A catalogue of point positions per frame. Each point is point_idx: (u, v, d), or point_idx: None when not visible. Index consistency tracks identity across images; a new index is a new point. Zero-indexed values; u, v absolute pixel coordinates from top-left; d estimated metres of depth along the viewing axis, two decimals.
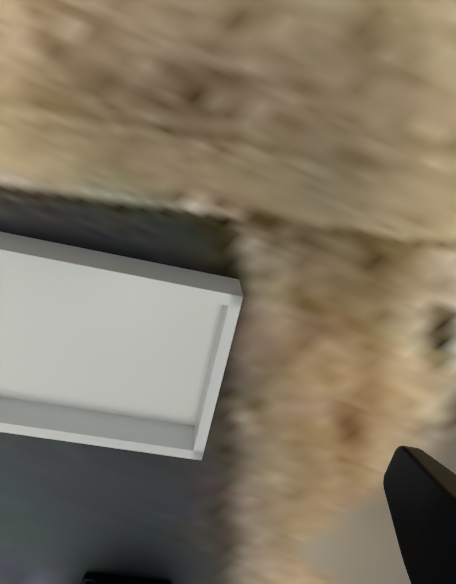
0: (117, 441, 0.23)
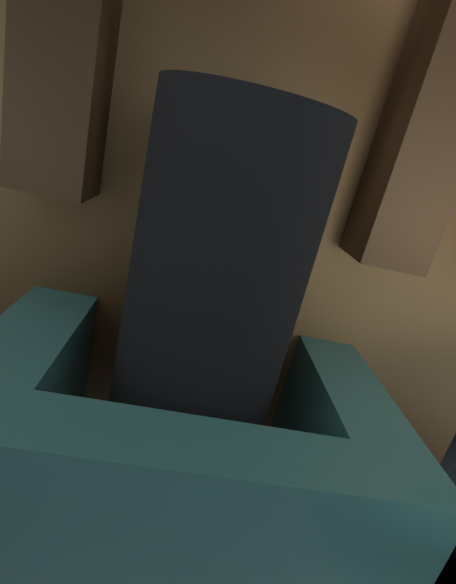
0: None
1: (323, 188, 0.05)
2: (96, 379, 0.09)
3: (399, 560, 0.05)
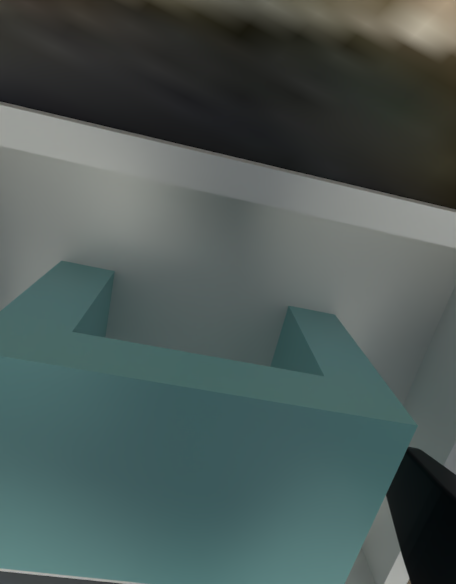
0: None
1: None
2: None
3: (360, 466, 0.06)
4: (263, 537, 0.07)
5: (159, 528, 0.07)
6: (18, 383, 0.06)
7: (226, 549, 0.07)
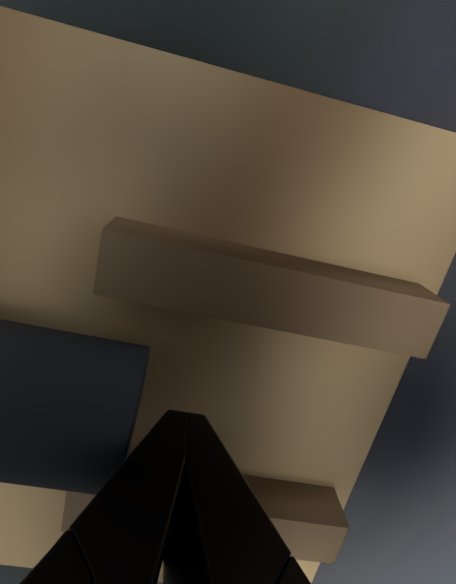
0: None
1: None
2: None
3: None
4: None
5: None
6: None
7: None
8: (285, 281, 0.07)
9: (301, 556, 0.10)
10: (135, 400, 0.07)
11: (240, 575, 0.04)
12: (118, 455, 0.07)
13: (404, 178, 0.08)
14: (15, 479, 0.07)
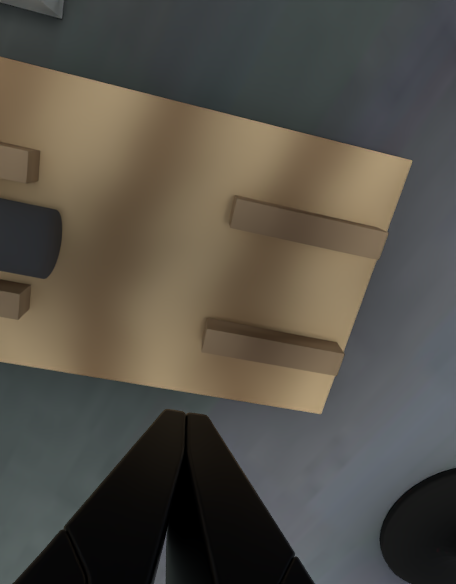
0: None
1: None
2: (119, 293, 0.19)
3: None
4: None
5: None
6: None
7: None
8: (314, 222, 0.17)
9: (320, 370, 0.19)
10: (43, 220, 0.15)
11: (244, 575, 0.04)
12: (35, 242, 0.15)
13: (367, 176, 0.17)
14: None
